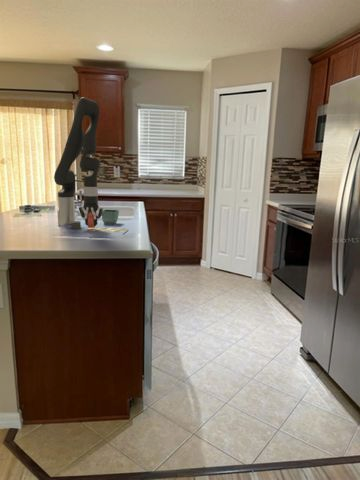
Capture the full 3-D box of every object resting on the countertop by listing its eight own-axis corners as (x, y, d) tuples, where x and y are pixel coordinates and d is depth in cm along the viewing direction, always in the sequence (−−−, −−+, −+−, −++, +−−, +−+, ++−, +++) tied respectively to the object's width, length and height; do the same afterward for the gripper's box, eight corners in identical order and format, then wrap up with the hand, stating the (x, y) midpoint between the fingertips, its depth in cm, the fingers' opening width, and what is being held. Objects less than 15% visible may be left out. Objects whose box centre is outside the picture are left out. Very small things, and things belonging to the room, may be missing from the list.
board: (84, 232, 194) (84, 230, 194) (90, 229, 204) (90, 227, 203) (124, 234, 192) (124, 232, 192) (128, 230, 202) (128, 228, 201)
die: (71, 231, 196) (70, 222, 195) (71, 229, 201) (71, 220, 200) (80, 231, 198) (80, 222, 196) (80, 229, 202) (80, 220, 201)
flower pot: (119, 224, 221) (119, 209, 219) (115, 226, 213) (115, 211, 211) (105, 223, 222) (105, 209, 220) (101, 226, 214) (100, 211, 212)
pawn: (86, 227, 196) (86, 211, 194) (89, 226, 200) (88, 210, 198) (93, 228, 195) (93, 212, 193) (96, 226, 199) (95, 211, 197)
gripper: (75, 194, 191) (76, 226, 195) (100, 196, 189) (101, 227, 193) (81, 193, 198) (81, 223, 202) (105, 194, 196) (105, 225, 200)
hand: (91, 225), depth 197 cm, fingers closed on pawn, 4 cm apart
